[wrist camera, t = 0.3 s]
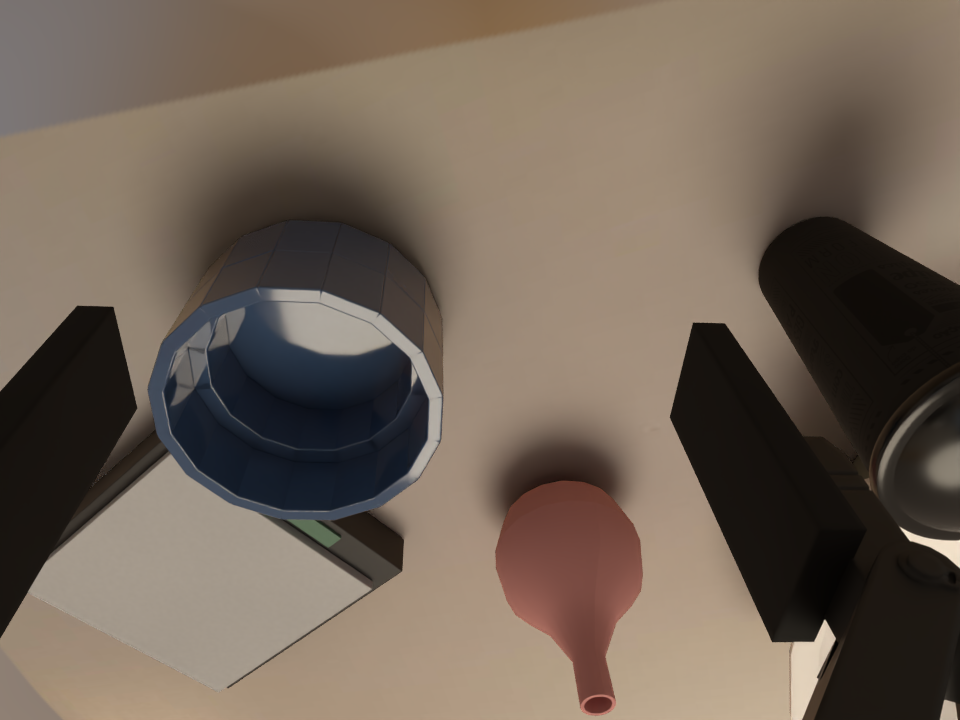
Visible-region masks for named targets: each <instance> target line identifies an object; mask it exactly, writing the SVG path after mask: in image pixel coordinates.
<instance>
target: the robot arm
mask: <svg viewBox="0 0 960 720" xmlns="http://www.w3.org/2000/svg"><path fill="white" fill-rule="evenodd" d="M136 410H137V405H136V401H135V396H134V392H133V388H132V384H131V379H130V375H129V371H128V367H127V362H126V358H125V354H124V350H123V346H122V341H121V337H120V333H119V329H118V324H117V320H116V316H115V312H114V307H101V306H77V307H76V308H75V309H74V310H73V311H72V312H71V313H70V315H69V316H68V317H67V318H66V319H65V320H64V321H63V322H62V323H61V325H60V326H59V327H58V328H57V329H56V330H55V331H54V332H53V333H52V335H51V336H50V337H49V338H48V339H47V340H46V341H45V342H44V344H43V345H42V346H41V347H40V348H39V349H38V350H37V351H36V352H35V354H34V355H33V356H32V357H31V358H30V359H29V360H28V361H27V362H26V364H25V365H24V366H23V367H22V368H21V369H20V370H19V371H18V372H17V374H16V375H15V376H14V377H13V378H12V379H11V380H10V381H9V382H8V384H7V385H6V386H5V387H4V388H3V389H2V390H1V391H0V638H1V636H2V635H3V633H4V631H5V629H6V628H7V626H8V624H9V623H10V621H11V619H12V618H13V616H14V614H15V613H16V611H17V609H18V608H19V606H20V604H21V603H22V601H23V599H24V598H25V596H26V594H27V593H28V591H29V589H30V588H31V586H32V584H33V582H34V581H35V579H36V577H37V576H38V574H39V572H40V571H41V569H42V567H43V566H44V564H45V562H46V561H47V559H48V557H49V556H50V554H51V552H52V551H53V549H54V547H55V546H56V544H57V542H58V541H59V539H60V537H61V535H62V534H63V532H64V530H65V529H66V527H67V525H68V524H69V522H70V520H71V519H72V517H73V515H74V514H75V512H76V510H77V509H78V507H79V505H80V504H81V502H82V500H83V499H84V497H85V495H86V494H87V492H88V490H89V488H90V487H91V485H92V483H93V482H94V480H95V478H96V477H97V475H98V473H99V472H100V470H101V468H102V467H103V465H104V463H105V462H106V460H107V458H108V457H109V455H110V453H111V452H112V450H113V448H114V446H115V445H116V443H117V441H118V440H119V438H120V436H121V435H122V433H123V431H124V430H125V428H126V426H127V425H128V423H129V421H130V420H131V418H132V416H133V415H134V413H135V411H136ZM670 419H671V421H672V423H673V425H674V428H675V430H676V432H677V434H678V436H679V439H680V441H681V443H682V445H683V447H684V450H685V452H686V454H687V456H688V458H689V460H690V463H691V465H692V467H693V469H694V471H695V474H696V476H697V478H698V480H699V482H700V485H701V487H702V489H703V491H704V493H705V496H706V498H707V500H708V502H709V504H710V507H711V509H712V511H713V513H714V515H715V517H716V520H717V522H718V524H719V526H720V528H721V531H722V533H723V535H724V537H725V539H726V542H727V544H728V546H729V548H730V550H731V553H732V555H733V557H734V559H735V561H736V564H737V566H738V568H739V570H740V572H741V574H742V577H743V579H744V581H745V583H746V585H747V588H748V590H749V592H750V594H751V596H752V599H753V601H754V603H755V605H756V607H757V610H758V612H759V614H760V616H761V618H762V620H763V623H764V625H765V627H766V629H767V631H768V634H769V636H770V638H771V640H772V642H814V641H815V639H816V637H817V635H818V633H819V630H820V628H821V626H822V624H823V622H824V620H826V622H827V624H828V625H829V627H830V629H831V631H832V633H833V635H834V636H835V638H836V639H835V641H834V643H833V645H832V647H831V649H830V651H829V653H828V655H827V657H826V660H825V662H824V664H823V666H822V668H821V670H820V672H819V674H818V676H817V678H818V681H817V684H816V686H815V689H814V691H813V694H812V696H811V699H810V701H809V704H808V706H807V709H806V711H805V714H804V716H803V719H802V720H940V716H941V712H942V707H943V703H944V700H948V701H951V702H955V704H956V711H957V718H958V720H960V568H959V567H958V566H957V565H956V564H954V563H953V562H952V561H951V560H950V559H949V558H948V557H946V556H945V555H943V554H941V553H940V552H938V551H936V550H934V549H932V548H931V547H928V546H925V545H922V544H919V543H916V542H913V541H910V540H909V539H908V538H907V536H906V535H905V534H904V532H903V531H902V530H901V528H900V527H899V526H898V524H897V523H896V522H895V520H894V519H893V518H892V516H891V515H890V514H889V512H888V511H887V510H886V508H885V507H884V506H883V504H882V503H881V502H880V500H879V499H878V497H877V496H876V495H875V493H874V492H873V491H870V490H869V485H868V484H867V483H866V481H865V480H864V479H863V477H862V476H861V475H858V471H857V469H856V468H855V467H854V465H853V464H852V463H851V461H850V460H849V459H848V457H847V456H846V455H845V453H843V452H842V451H841V450H839V449H838V448H837V447H835V446H834V445H833V444H831V443H830V442H829V441H827V440H826V439H825V438H823V437H803V436H802V434H801V433H800V432H799V430H798V429H797V427H796V426H795V424H794V423H793V421H792V420H791V419H790V417H789V416H788V414H787V413H786V411H785V410H784V408H783V407H782V406H781V404H780V403H779V401H778V400H777V398H776V397H775V395H774V394H773V393H772V391H771V390H770V388H769V387H768V385H767V384H766V382H765V381H764V379H763V378H762V377H761V375H760V374H759V372H758V371H757V369H756V368H755V366H754V365H753V364H752V362H751V361H750V359H749V358H748V356H747V355H746V353H745V352H744V351H743V349H742V348H741V346H740V345H739V343H738V342H737V340H736V339H735V337H734V336H733V335H732V333H731V332H730V330H729V329H728V327H727V326H726V324H724V323H693V325H692V329H691V333H690V337H689V341H688V345H687V350H686V354H685V358H684V362H683V366H682V370H681V374H680V378H679V382H678V386H677V390H676V394H675V398H674V403H673V407H672V411H671V415H670Z"/></svg>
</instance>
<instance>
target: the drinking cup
mask: <svg viewBox="0 0 960 720" xmlns="http://www.w3.org/2000/svg"><path fill="white" fill-rule="evenodd" d="M759 284H760V288H761V291H762V293H763V295H764V296H765V298H766V300H767V301H768V303H769V305H770V307H771V308H772V310H773V312H774V313H775V315H776V317H777V318H778V320H779V322H780V323H781V325H782V327H783V329H784V330H785V332H786V334H787V335H788V337H789V339H790V340H791V342H792V344H793V345H794V347H795V349H796V351H797V352H798V354H799V356H800V357H801V359H802V361H803V362H804V364H805V366H806V367H807V369H808V371H809V373H810V374H811V376H812V378H813V379H814V381H815V383H816V384H817V386H818V388H819V389H820V391H821V393H822V395H823V396H824V398H825V400H826V401H827V403H828V405H829V406H830V408H831V410H832V411H833V413H834V415H835V417H836V418H837V420H838V422H839V423H840V425H841V427H842V428H843V430H844V432H845V433H846V435H847V437H848V439H849V440H850V442H851V444H852V445H853V447H854V449H855V450H856V452H857V454H858V455H859V457H860V459H861V461H862V462H863V464H864V466H865V467H866V469H867V471H868V472H869V480H870V487H871V490H872V491H873V492H874V493H875V495H876V496H877V497H878V499H879V500H880V502H881V503H882V504H883V506H884V507H885V508H886V510H887V511H888V512H889V514H890V515H891V516H892V518H893V519H894V520H895V522H896V523H897V524H898V526H899V527H901V528H902V529H904V530H906V531H908V532H910V533H913V534H915V535H918V536H921V537H925V538H930V539H935V540H948V541H958V540H960V286H959V285H958V284H956V283H954V282H952V281H950V280H949V279H947V278H945V277H943V276H941V275H940V274H938V273H936V272H934V271H932V270H931V269H929V268H927V267H925V266H924V265H922V264H920V263H918V262H916V261H915V260H913V259H911V258H909V257H907V256H906V255H904V254H902V253H900V252H898V251H897V250H895V249H893V248H891V247H889V246H888V245H886V244H884V243H882V242H880V241H879V240H877V239H875V238H873V237H872V236H870V235H868V234H866V233H864V232H863V231H861V230H859V229H857V228H855V227H854V226H852V225H850V224H848V223H846V222H845V221H842V220H840V219H836V218H831V217H818V218H812V219H808V220H805V221H802V222H799V223H797V224H795V225H793V226H792V227H790V228H788V229H787V230H785V231H784V232H783V233H782V234H780V235H779V236H778V237H777V238H776V239H775V240H774V241H773V243H772V244H771V245H770V246H769V248H768V249H767V251H766V253H765V254H764V257H763V259H762V262H761V265H760V269H759Z"/></svg>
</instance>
